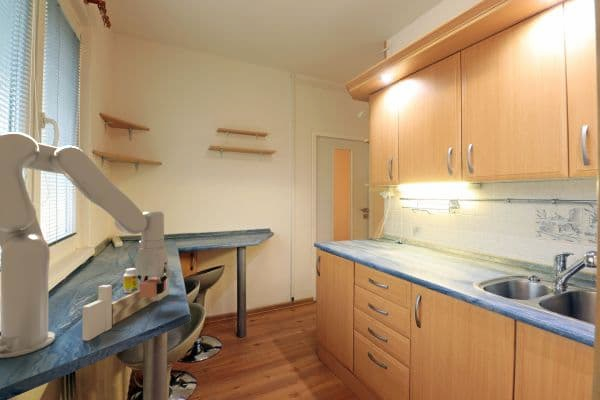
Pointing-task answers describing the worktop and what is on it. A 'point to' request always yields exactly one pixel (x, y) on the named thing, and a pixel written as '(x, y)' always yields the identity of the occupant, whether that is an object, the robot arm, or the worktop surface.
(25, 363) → the worktop surface
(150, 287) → the salmon orange block
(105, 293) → the wall frame
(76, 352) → the worktop surface
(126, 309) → the gate door
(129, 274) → the supplement bottle
